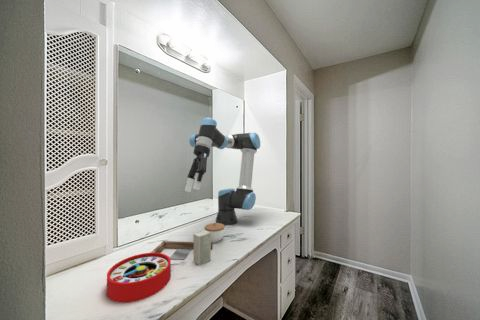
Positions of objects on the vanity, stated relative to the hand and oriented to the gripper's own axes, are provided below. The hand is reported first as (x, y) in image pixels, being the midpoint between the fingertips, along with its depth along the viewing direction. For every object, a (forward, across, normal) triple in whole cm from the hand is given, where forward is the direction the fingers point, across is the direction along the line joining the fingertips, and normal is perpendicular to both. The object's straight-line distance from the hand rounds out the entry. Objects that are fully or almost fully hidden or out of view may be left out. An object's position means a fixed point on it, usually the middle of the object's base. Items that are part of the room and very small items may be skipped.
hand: (191, 190), depth 85 cm
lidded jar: (+20, -18, +24) cm, 36 cm away
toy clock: (+36, +1, -10) cm, 37 cm away
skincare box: (+28, -1, +12) cm, 31 cm away
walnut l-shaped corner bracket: (+28, -9, +6) cm, 30 cm away
